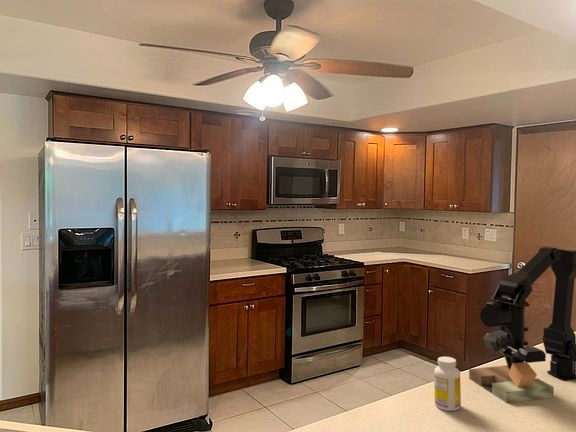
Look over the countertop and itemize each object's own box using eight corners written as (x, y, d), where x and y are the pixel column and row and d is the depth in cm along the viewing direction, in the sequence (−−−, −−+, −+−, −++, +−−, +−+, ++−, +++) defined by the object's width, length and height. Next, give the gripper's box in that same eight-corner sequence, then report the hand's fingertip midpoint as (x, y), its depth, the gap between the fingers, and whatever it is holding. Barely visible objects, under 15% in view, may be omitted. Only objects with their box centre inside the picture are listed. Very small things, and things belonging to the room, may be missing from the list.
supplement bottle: (456, 401, 122) (456, 355, 122) (464, 412, 115) (463, 364, 115) (432, 400, 123) (431, 354, 122) (437, 411, 116) (437, 363, 116)
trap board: (511, 374, 140) (511, 364, 140) (553, 397, 123) (553, 386, 123) (469, 378, 137) (469, 369, 137) (506, 402, 120) (506, 392, 120)
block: (521, 373, 128) (526, 362, 126) (531, 385, 124) (536, 374, 122) (507, 374, 127) (512, 363, 125) (517, 387, 123) (522, 375, 121)
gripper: (469, 316, 135) (469, 366, 136) (511, 333, 117) (510, 391, 117) (501, 313, 137) (501, 363, 138) (547, 330, 119) (547, 387, 120)
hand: (513, 375), depth 128 cm, fingers closed
